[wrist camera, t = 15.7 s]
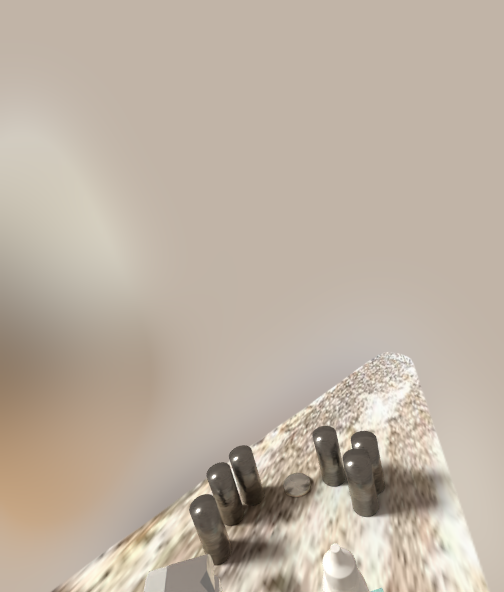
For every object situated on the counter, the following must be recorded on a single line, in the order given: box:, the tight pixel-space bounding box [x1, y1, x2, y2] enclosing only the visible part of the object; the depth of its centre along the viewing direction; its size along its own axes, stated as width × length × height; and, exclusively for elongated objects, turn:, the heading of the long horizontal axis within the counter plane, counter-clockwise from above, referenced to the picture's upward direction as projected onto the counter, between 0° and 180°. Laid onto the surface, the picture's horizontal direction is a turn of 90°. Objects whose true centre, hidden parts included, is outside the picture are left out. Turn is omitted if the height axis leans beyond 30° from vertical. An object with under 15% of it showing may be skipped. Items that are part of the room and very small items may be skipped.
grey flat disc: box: [283, 473, 311, 497], centre depth 49 cm, size 4×4×1 cm
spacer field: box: [189, 426, 385, 565], centre depth 46 cm, size 23×10×7 cm, turn 98°
